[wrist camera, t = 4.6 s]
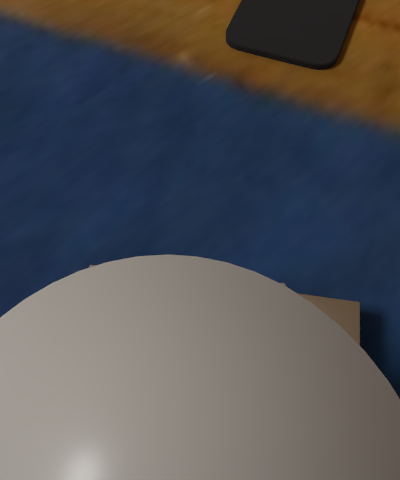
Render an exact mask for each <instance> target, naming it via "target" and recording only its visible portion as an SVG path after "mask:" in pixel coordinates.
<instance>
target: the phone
mask: <svg viewBox="0 0 400 480" xmlns="http://www.w3.org/2000/svg"><path fill="white" fill-rule="evenodd" d="M358 3H359V0H242V1H241V3H240V5H239V7H238V9H237V10H236V12H235V14H234V16H233V18H232V20H231V22H230V24H229V26H228V28H227V30H226V42H227V44H228V45H229V46H230V47H232V48H233V49H236V50H239V51H242V52H246V53H250V54H254V55H258V56H262V57H266V58H270V59H274V60H278V61H282V62H286V63H290V64H294V65H298V66H302V67H306V68H310V69H316V70H323V69H327V68H330V67H331V66H333V65H334V64H335V62H336V61H337V59H338V56H339V54H340V51H341V48H342V46H343V43H344V40H345V38H346V35H347V32H348V29H349V27H350V24H351V21H352V19H353V16H354V13H355V11H356V8H357V5H358Z"/></svg>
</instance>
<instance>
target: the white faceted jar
mask: <svg viewBox="0 0 400 480" xmlns="http://www.w3.org/2000/svg"><path fill="white" fill-rule="evenodd" d="M0 480H400V399H399V397H398V396H397V394H396V392H395V391H394V389H393V388H392V386H391V384H390V383H389V381H388V380H387V379H386V377H385V376H384V375H383V374H382V372H381V371H380V370H379V368H378V367H377V366H376V365H375V363H374V362H373V361H372V360H371V358H370V357H369V356H368V354H367V353H366V352H365V351H364V350H363V349H362V348H361V347H360V346H359V345H358V344H357V343H356V342H355V341H354V340H353V339H352V337H351V336H350V335H349V334H348V333H347V332H346V331H345V330H344V329H343V328H342V327H341V326H340V325H339V324H337V323H336V322H335V321H334V320H332V319H331V318H330V317H329V316H327V315H326V314H325V313H324V312H323V311H321V310H320V309H319V308H318V307H316V306H315V305H314V304H313V303H311V302H310V301H308V300H306V299H305V298H303V297H302V296H300V295H298V294H297V293H295V292H294V291H292V290H291V289H289V288H287V287H286V286H285V284H284V283H278V282H276V281H274V280H271V279H269V278H267V277H265V276H263V275H261V274H259V273H257V272H254V271H251V270H248V269H245V268H242V267H239V266H236V265H233V264H230V263H227V262H222V261H217V260H212V259H206V258H201V257H195V256H180V255H153V256H137V257H132V258H127V259H121V260H116V261H110V262H106V263H103V264H100V265H97V266H94V267H90V268H87V269H84V270H81V271H78V272H76V273H74V274H72V275H69V276H67V277H65V278H63V279H60V280H58V281H56V282H54V283H52V284H50V285H48V286H47V287H45V288H43V289H41V290H40V291H38V292H36V293H35V294H33V295H31V296H29V297H28V298H26V299H24V300H23V301H22V302H20V303H19V304H18V305H16V306H15V307H14V308H12V309H11V310H10V311H8V312H7V313H6V314H4V315H3V316H2V317H0Z"/></svg>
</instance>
